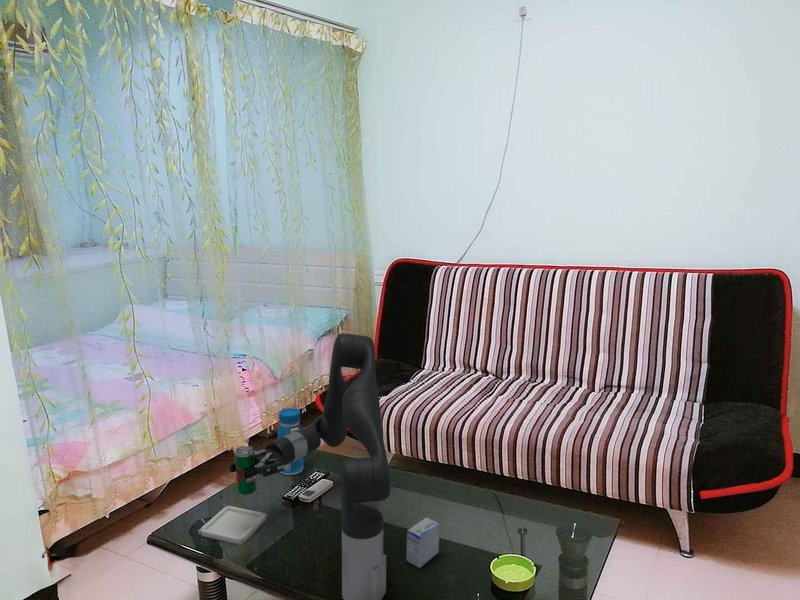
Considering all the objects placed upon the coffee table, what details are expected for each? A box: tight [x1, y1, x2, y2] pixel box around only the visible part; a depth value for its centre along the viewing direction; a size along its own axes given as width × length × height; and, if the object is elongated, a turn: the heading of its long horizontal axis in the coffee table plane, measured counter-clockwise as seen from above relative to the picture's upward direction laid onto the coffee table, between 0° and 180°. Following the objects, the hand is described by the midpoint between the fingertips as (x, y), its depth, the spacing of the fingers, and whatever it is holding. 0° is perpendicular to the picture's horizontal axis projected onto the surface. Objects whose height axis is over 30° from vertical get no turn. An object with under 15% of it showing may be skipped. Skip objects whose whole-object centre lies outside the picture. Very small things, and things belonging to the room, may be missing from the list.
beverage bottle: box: [276, 407, 305, 476], centre depth 192 cm, size 8×8×20 cm
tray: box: [197, 505, 268, 546], centre depth 162 cm, size 13×13×2 cm
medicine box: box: [405, 517, 440, 569], centre depth 149 cm, size 8×4×9 cm, turn 141°
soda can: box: [234, 445, 257, 496], centre depth 157 cm, size 5×5×12 cm
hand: (237, 472), depth 155 cm, fingers closed on soda can, 5 cm apart
